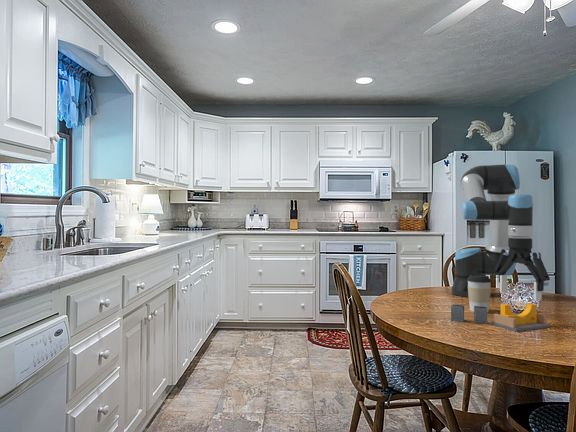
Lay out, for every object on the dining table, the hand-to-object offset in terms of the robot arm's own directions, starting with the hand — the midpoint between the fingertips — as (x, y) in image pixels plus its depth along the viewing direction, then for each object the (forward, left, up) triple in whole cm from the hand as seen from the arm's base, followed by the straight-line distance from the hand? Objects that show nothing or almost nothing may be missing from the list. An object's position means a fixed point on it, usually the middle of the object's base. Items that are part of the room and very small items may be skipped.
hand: (519, 296), depth 140 cm
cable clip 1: (+16, -13, -11) cm, 23 cm away
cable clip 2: (+10, -8, -11) cm, 17 cm away
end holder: (0, 0, -11) cm, 11 cm away
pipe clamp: (0, 0, -10) cm, 10 cm away
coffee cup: (-4, -22, -11) cm, 25 cm away
